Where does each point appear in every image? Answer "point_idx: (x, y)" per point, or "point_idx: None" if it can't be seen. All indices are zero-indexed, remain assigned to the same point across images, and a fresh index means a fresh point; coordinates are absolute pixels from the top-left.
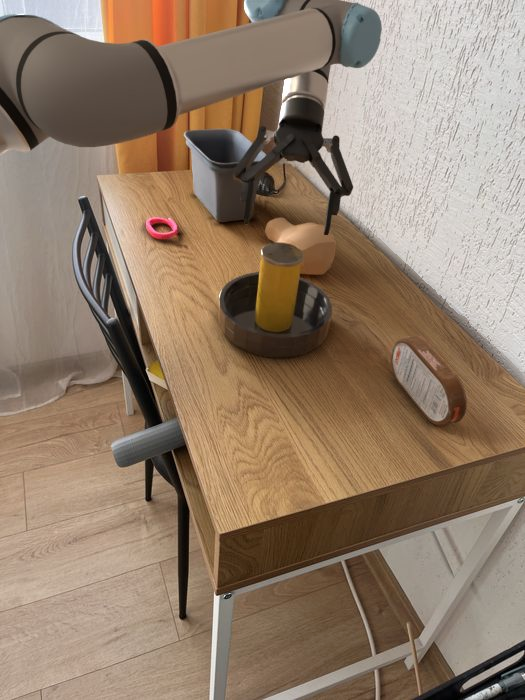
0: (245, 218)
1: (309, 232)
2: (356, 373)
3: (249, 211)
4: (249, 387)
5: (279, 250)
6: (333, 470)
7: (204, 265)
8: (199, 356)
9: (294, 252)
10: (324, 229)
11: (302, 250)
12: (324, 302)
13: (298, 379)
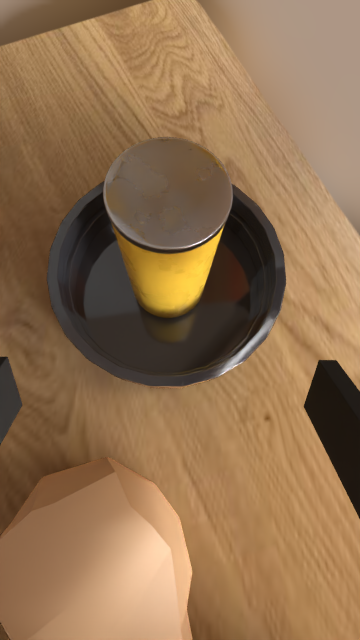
0: (330, 363)
1: (78, 560)
2: (28, 190)
3: (332, 396)
4: None
5: (178, 199)
6: (81, 47)
7: None
8: (271, 187)
9: (131, 197)
10: (12, 408)
11: (107, 475)
12: (63, 297)
13: None
